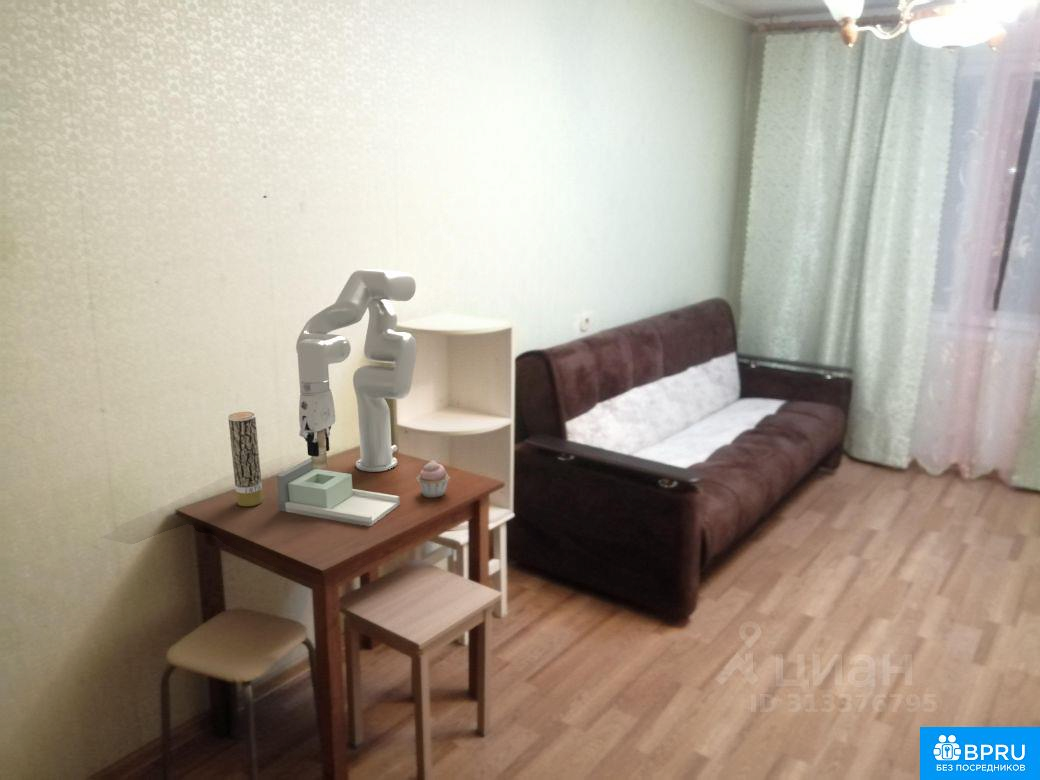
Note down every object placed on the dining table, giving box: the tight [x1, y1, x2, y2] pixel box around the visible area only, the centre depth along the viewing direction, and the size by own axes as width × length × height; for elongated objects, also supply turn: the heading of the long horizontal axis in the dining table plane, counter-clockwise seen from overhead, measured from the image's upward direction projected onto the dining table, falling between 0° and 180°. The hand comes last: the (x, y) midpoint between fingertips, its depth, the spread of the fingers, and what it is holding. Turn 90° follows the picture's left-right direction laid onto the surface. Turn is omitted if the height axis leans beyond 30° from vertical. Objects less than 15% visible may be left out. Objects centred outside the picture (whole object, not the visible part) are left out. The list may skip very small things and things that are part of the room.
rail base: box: [276, 457, 400, 527], centre depth 210 cm, size 15×28×10 cm, turn 69°
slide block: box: [288, 468, 353, 509], centre depth 213 cm, size 12×12×6 cm
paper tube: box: [227, 411, 264, 507], centre depth 212 cm, size 7×7×25 cm
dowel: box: [310, 429, 328, 469], centre depth 209 cm, size 4×4×12 cm
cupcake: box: [416, 459, 450, 499], centre depth 220 cm, size 9×9×10 cm
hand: (318, 452), depth 210 cm, fingers closed on dowel, 3 cm apart
